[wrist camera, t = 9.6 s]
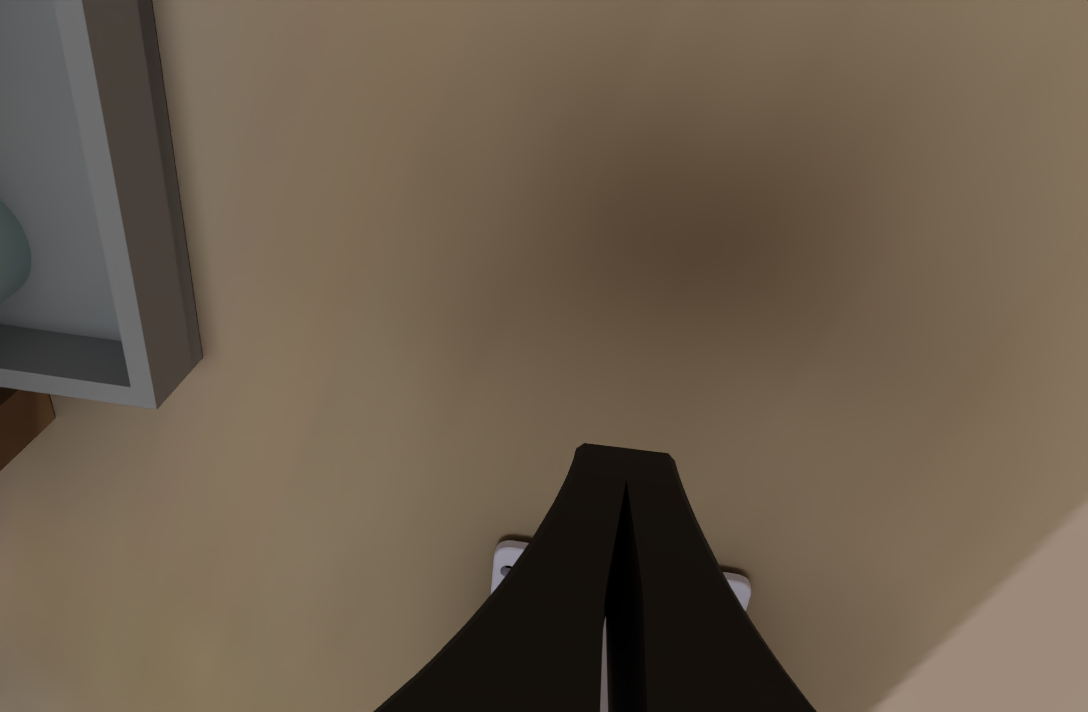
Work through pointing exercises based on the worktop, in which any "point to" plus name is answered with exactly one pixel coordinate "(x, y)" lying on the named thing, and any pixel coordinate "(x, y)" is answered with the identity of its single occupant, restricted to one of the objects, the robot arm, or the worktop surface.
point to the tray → (92, 206)
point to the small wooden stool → (21, 420)
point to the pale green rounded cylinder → (12, 253)
